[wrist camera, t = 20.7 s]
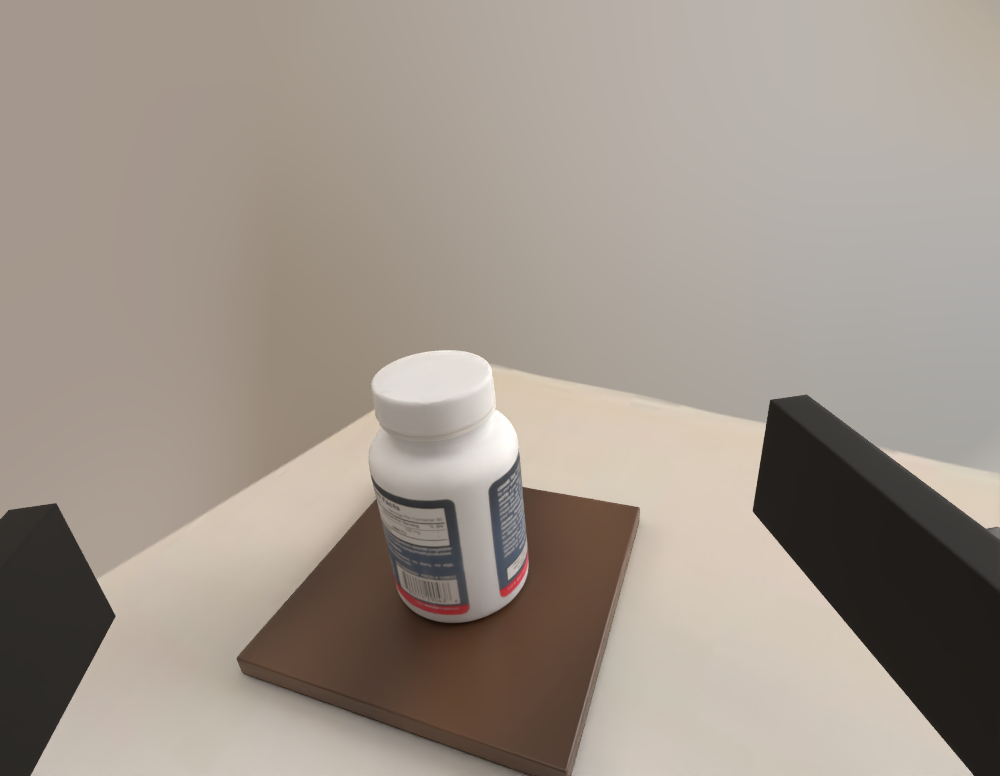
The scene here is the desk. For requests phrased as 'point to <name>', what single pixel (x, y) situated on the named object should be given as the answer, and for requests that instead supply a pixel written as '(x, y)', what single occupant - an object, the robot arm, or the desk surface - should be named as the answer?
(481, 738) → the coaster
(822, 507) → the robot arm
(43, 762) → the desk surface
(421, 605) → the pill bottle
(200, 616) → the desk surface
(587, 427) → the desk surface
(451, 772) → the desk surface
